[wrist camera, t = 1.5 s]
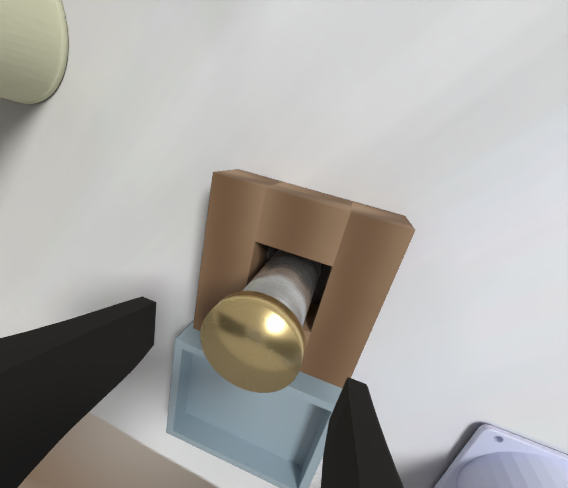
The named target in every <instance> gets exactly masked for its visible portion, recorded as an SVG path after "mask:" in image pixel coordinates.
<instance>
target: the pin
mask: <svg viewBox="0 0 568 488" xmlns="http://www.w3.org/2000/svg"><path fill="white" fill-rule="evenodd" d="M320 272H321V265H320V262H317V261H314V260H311V259H308V258H305V257H302V256H298V255H295V254H292V253H289V252H286V251H283V250H280V249H278V251H277V252H276V253H275V254H274V255H273V256H272V257H271V259H270V260H269V261H268V262H267V263H266V264H265V265H264V267H263V268H262V269H261V270H260V271H259V272H258V273H257V275H256V276H255V277H254V278H253V279H252V280H251V282H250V283H249V284H248V285H247V286H246V287H245V288H244V290H243V291H240V292H235V293H232V294H230V295H228V296H226V297H225V298H223V299H222V300H221V301H220V302H219V303H218V304H217V305H216V306H215V307H214V308H213V309H212V310H211V311H210V312H209V313H208V315H207V316H206V317H205V319H204V321H203V323H202V327H201V333H200V338H201V345H202V349H203V352H204V354H205V356H206V358H207V360H208V361H209V363H210V364H211V366H212V367H213V368H214V369H215V371H216V372H217V373H218V374H219V375H221V376H222V377H223V378H224V379H225V380H227V381H228V382H230V383H231V384H233V385H235V386H237V387H239V388H242V389H244V390H247V391H251V392H257V393H271V392H276V391H279V390H281V389H283V388H285V387H287V386H288V385H290V384H291V383H292V382H293V381H294V380H295V378H296V377H297V375H298V373H299V371H300V367H301V364H302V360H303V357H304V353H305V347H306V340H305V334H304V331H303V328H302V326H303V324H304V321H305V318H306V315H307V312H308V309H309V306H310V303H311V300H312V297H313V294H314V291H315V288H316V285H317V282H318V279H319V276H320Z"/></svg>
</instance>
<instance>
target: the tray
mask: <svg viewBox="0 0 568 488" xmlns="http://www.w3.org/2000/svg"><path fill="white" fill-rule="evenodd" d="M193 325H194V321H193V322H192V323H191V324H190V325H189V326H188V327H187V328H186V329H185V330H184V331H183V332H182V333H181V334H180V335H179V336H178V337H177V338H176V339H175V347H174V357H173V367H172V378H171V388H170V398H169V408H168V418H167V428H166V433H168V434H171V435H173V436H175V437H177V438H179V439H181V440H183V441H185V442H187V443H189V444H191V445H193V446H195V447H197V448H199V449H201V450H203V451H205V452H208V453H210V454H212V455H214V456H216V457H218V458H220V459H222V460H224V461H226V462H228V463H230V464H232V465H234V466H236V467H238V468H240V469H242V470H245V471H247V472H249V473H251V474H253V475H255V476H257V477H259V478H261V479H263V480H265V481H267V482H269V483H271V484H273V485H275V486H277V487H279V488H309V485H310V483H311V481H312V479H313V477H314V474H315V472H316V470H317V468H318V465H319V463H320V461H321V459H322V457H323V453H324V447H325V441H326V435H327V429H328V423H329V418H330V416H331V414H332V412H333V409H334V407H335V405H336V402H337V400H338V398H339V395H340V393H341V391H342V388H340V387H337V386H335V385H332V384H330V383H328V382H325V381H323V380H320V379H318V378H315V377H313V376H310V375H308V374H305V373H303V372H300V371H299V373H298V375H297V377H296V378H295V380H294V381H293V382H292V383H291V384H290V385H288V386H287V387H285V388H283V389H281V390H279V391H276V392H271V393H257V392H251V391H247V390H244V389H242V388H239V387H237V386H235V385H233V384H231V383H230V382H228V381H227V380H225V379H224V378H223V377H222V376H221V375H219V374H218V373H217V372H216V371H215V369H214V368H213V367H212V366H211V364H210V363H209V361H208V360H207V358H206V356H205V354H204V352H203V349H202V345H201V338H200V333H201V331H198V330H196V329H193Z"/></svg>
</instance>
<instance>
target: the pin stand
mask: <svg viewBox="0 0 568 488" xmlns="http://www.w3.org/2000/svg"><path fill="white" fill-rule="evenodd" d="M414 232H415V229H414V227H413V226H412V225H411V223H410V222H409V221H408V219H407V218H406V217H405V216H403V215H400V214H396V213H393V212H389V211H386V210H382V209H378V208H375V207H371V206H368V205H364V204H360V203H357V202H353V201H350V200H346V199H343V198H339V197H335V196H332V195H328V194H325V193H321V192H317V191H314V190H310V189H307V188H303V187H300V186H296V185H292V184H289V183H285V182H282V181H278V180H274V179H271V178H267V177H264V176H260V175H257V174H253V173H249V172H246V171H242V170H239V169H236V170H227V171H218V172H213V176H212V184H211V192H210V200H209V207H208V215H207V223H206V231H205V239H204V247H203V254H202V262H201V270H200V278H199V286H198V294H197V302H196V309H195V317H194V325H193V329H196V330H198V331H201V327H202V323H203V321H204V319H205V317H206V316H207V315H208V313H209V312H210V311H211V310H212V309H213V308H214V307H215V306H216V305H217V304H218V303H219V302H220V301H221V300H222V299H223V298H225V297H226V296H228V295H230V294H232V293H235V292H240V291H243V290H244V288H245V287H246V286H247V285H248V284H249V283H250V282H251V280H252V279H253V278H254V277H255V276H256V275H257V273H258V272H259V271H260V270H261V269H262V268H263V267H264V263H265V258H266V254H267V249H268V246H271V247H274V248H277V249H280V250H283V251H286V252H289V253H292V254H295V255H298V256H302V257H305V258H308V259H311V260H314V261H317V262H320V263H323V264H326V265H329V266H331V268H330V271H329V274H328V277H327V281H326V284H325V287H324V290H323V293H322V296H321V299H320V302H319V305H317V304H315V303H312V302H311V303H310V306H309V309H308V312H307V315H306V318H305V321H304V324H303V326H302V328H303V331H304V334H305V340H306V347H305V353H304V357H303V360H302V364H301V367H300V372H303V373H305V374H308V375H310V376H313V377H315V378H318V379H320V380H323V381H325V382H328V383H330V384H332V385H335V386H337V387H340V388H343V386H344V384H345V381H346V379H347V377H349V378H351V376H352V374H353V372H354V369H355V367H356V365H357V362H358V360H359V358H360V355H361V353H362V351H363V349H364V346H365V344H366V342H367V339H368V337H369V335H370V333H371V330H372V328H373V326H374V323H375V321H376V319H377V317H378V314H379V312H380V310H381V307H382V305H383V303H384V301H385V298H386V296H387V294H388V291H389V289H390V287H391V285H392V282H393V280H394V278H395V275H396V273H397V271H398V269H399V266H400V264H401V262H402V259H403V257H404V255H405V253H406V250H407V248H408V246H409V243H410V241H411V239H412V237H413V234H414Z"/></svg>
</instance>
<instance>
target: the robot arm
mask: <svg viewBox="0 0 568 488" xmlns="http://www.w3.org/2000/svg"><path fill="white" fill-rule="evenodd" d="M155 316H156V302H154V301H152V300H149V299H147V298H144V297H140V298H136V299H132V300H129V301H126V302H123V303H119V304H116V305H113V306H110V307H107V308H104V309H101V310H98V311H95V312H91V313H88V314H85V315H82V316H79V317H76V318H72V319H69V320H66V321H62V322H59V323H55V324H52V325H48V326H45V327H41V328H38V329H34V330H31V331H27V332H23V333H20V334H16V335H12V336H8V337H3V338H0V488H17V487H18V486H19V485H20V484H21V483H22V482H23V480H24V479H25V478H26V477H27V476H28V475H29V474H30V472H31V471H32V470H33V469H34V468H35V467H36V466H37V465H38V464H39V463H40V461H41V460H42V459H43V458H44V457H45V456H46V455H47V453H48V452H49V451H50V450H51V449H52V448H53V447H54V446H55V445H56V444H57V443H58V441H59V440H61V439H62V438H63V437H64V435H65V434H66V433H67V432H68V431H69V430H70V429H71V428H72V427H73V426H74V425H76V423H78V422H79V421H80V420H81V419H82V418H83V417H84V416H85V415H86V414H87V413H88V412H89V411H90V410H91V409H92V408H93V407H95V406H96V405H97V404H98V403H99V402H100V401H101V400H102V399H103V398H104V397H105V396H106V395H107V394H108V393H109V392H110V391H111V390H112V389H114V388H115V387H116V386H117V385H118V384H119V383H120V382H121V381H122V380H123V379H124V378H125V377H126V376H127V375H128V374H129V373H130V372H131V371H132V370H133V369H134V368H135V367H136V366H137V365H138V363H139V362H140V361H141V360H142V359H143V358H144V356H145V355H146V354H147V353H148V351H149V350H150V349H151V348H152V346H153V345H154V333H155ZM321 488H404V487H403V484H402V482H401V479H400V477H399V475H398V472H397V470H396V467H395V464H394V462H393V459H392V456H391V454H390V451H389V449H388V446H387V443H386V441H385V438H384V435H383V432H382V429H381V427H380V424H379V421H378V418H377V415H376V412H375V409H374V406H373V402H372V399H371V396H370V393H369V389H368V387H367V385H366V384H364V383H362V382H359V381H357V380H354V379H351V378H349V377H347V379H346V381H345V384H344V386H343V388H342V391H341V393H340V395H339V398H338V400H337V402H336V405H335V407H334V409H333V412H332V414H331V416H330V418H329V423H328V429H327V435H326V441H325V447H324V453H323V466H322V480H321ZM434 488H568V455H566V454H563V453H561V452H558V451H556V450H553V449H551V448H548V447H545V446H543V445H540V444H538V443H535V442H533V441H530V440H527V439H525V438H522V437H520V436H517V435H515V434H512V433H509V432H507V431H504V430H502V429H499V428H497V427H494V426H491V425H488V424H484V425H481V426H480V427H479V428H478V429H477V430H476V432H475V433H474V434H473V436H472V437H471V438H470V440H469V441H468V442H467V444H466V445H465V446H464V448H463V449H462V450H461V452H460V453H459V454H458V456H457V457H456V458H455V460H454V461H453V462H452V464H451V465H450V466H449V468H448V469H447V470H446V472H445V473H444V474H443V476H442V477H441V479H440V480H439V481H438V483H437V484H436V485H435V487H434Z"/></svg>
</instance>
